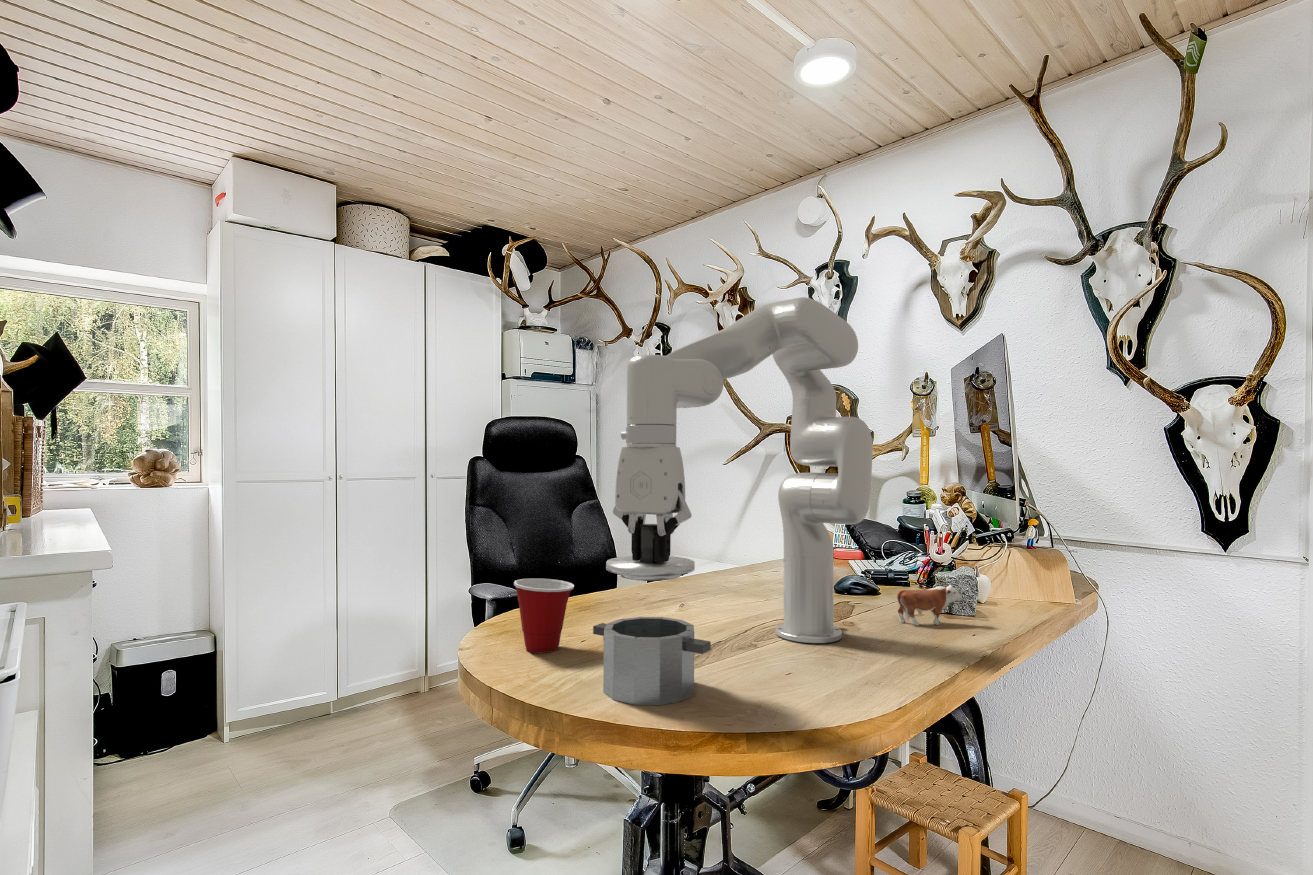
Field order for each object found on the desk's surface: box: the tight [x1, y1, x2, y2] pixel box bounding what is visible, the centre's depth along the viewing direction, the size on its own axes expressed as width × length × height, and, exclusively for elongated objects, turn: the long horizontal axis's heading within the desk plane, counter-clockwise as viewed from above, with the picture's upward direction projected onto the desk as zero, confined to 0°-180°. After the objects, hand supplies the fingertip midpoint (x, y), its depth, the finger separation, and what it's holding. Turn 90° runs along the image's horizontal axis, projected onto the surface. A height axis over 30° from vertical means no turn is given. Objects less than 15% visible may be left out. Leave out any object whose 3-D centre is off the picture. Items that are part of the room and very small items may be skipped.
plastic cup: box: [513, 578, 575, 654], centre depth 117 cm, size 11×11×12 cm
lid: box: [605, 523, 696, 582], centre depth 97 cm, size 13×13×8 cm
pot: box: [592, 616, 712, 706], centre depth 97 cm, size 13×19×9 cm
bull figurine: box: [896, 584, 963, 627], centre depth 137 cm, size 4×13×8 cm, turn 91°
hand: (650, 559), depth 97 cm, fingers closed on lid, 3 cm apart
